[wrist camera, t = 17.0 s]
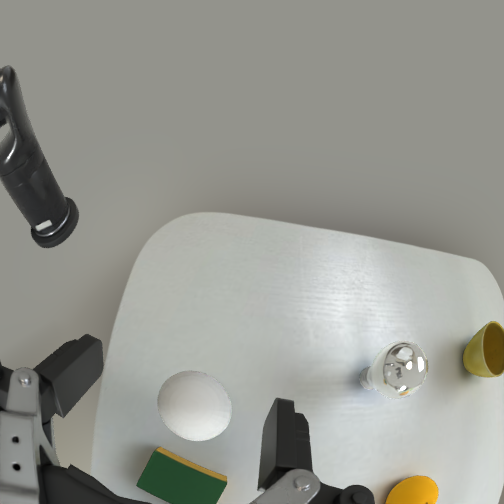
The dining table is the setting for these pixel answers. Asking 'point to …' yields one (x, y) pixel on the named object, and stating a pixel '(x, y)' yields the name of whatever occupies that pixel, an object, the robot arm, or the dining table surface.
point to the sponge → (180, 480)
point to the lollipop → (194, 405)
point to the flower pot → (486, 351)
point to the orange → (414, 491)
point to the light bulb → (396, 370)
